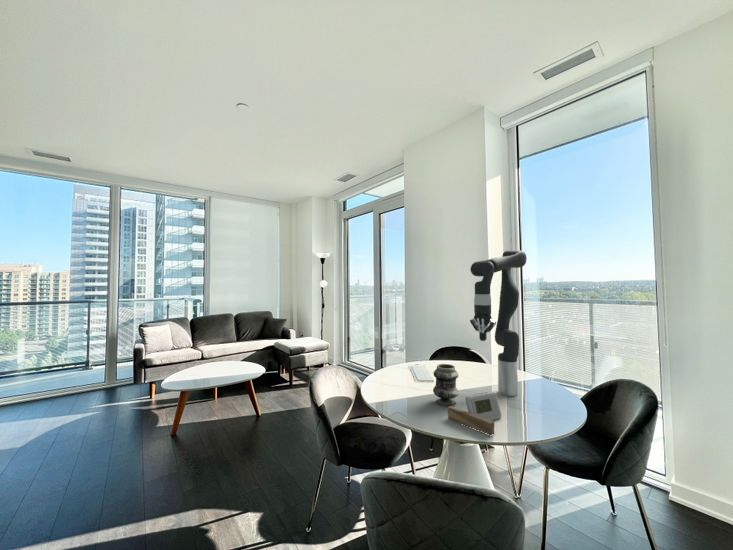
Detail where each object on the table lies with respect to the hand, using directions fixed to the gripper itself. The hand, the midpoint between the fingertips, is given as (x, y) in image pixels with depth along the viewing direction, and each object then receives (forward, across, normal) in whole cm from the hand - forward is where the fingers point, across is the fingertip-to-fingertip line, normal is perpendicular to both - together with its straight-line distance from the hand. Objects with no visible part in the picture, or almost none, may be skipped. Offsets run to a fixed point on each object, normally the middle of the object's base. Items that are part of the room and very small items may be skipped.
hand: (482, 340), depth 154 cm
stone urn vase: (+31, +14, +10) cm, 36 cm away
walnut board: (+31, -8, +23) cm, 39 cm away
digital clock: (+31, -8, +13) cm, 35 cm away
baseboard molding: (+32, +55, -16) cm, 65 cm away
